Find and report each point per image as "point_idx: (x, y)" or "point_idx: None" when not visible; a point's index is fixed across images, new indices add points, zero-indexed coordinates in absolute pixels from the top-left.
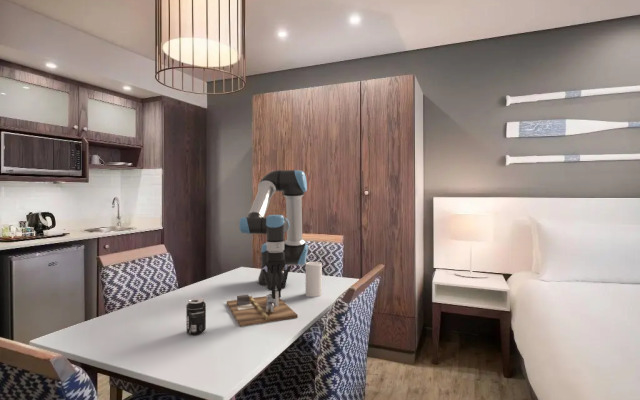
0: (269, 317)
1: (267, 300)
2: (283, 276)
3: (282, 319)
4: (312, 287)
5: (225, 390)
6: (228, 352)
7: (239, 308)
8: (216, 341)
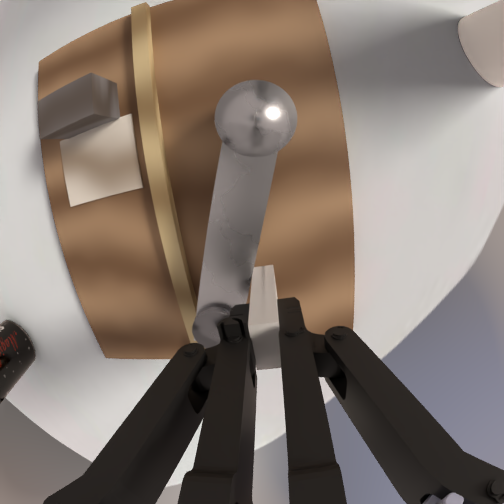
0: None
1: (208, 237)
2: (379, 434)
3: None
4: None
5: None
6: None
7: (73, 185)
8: (83, 402)
